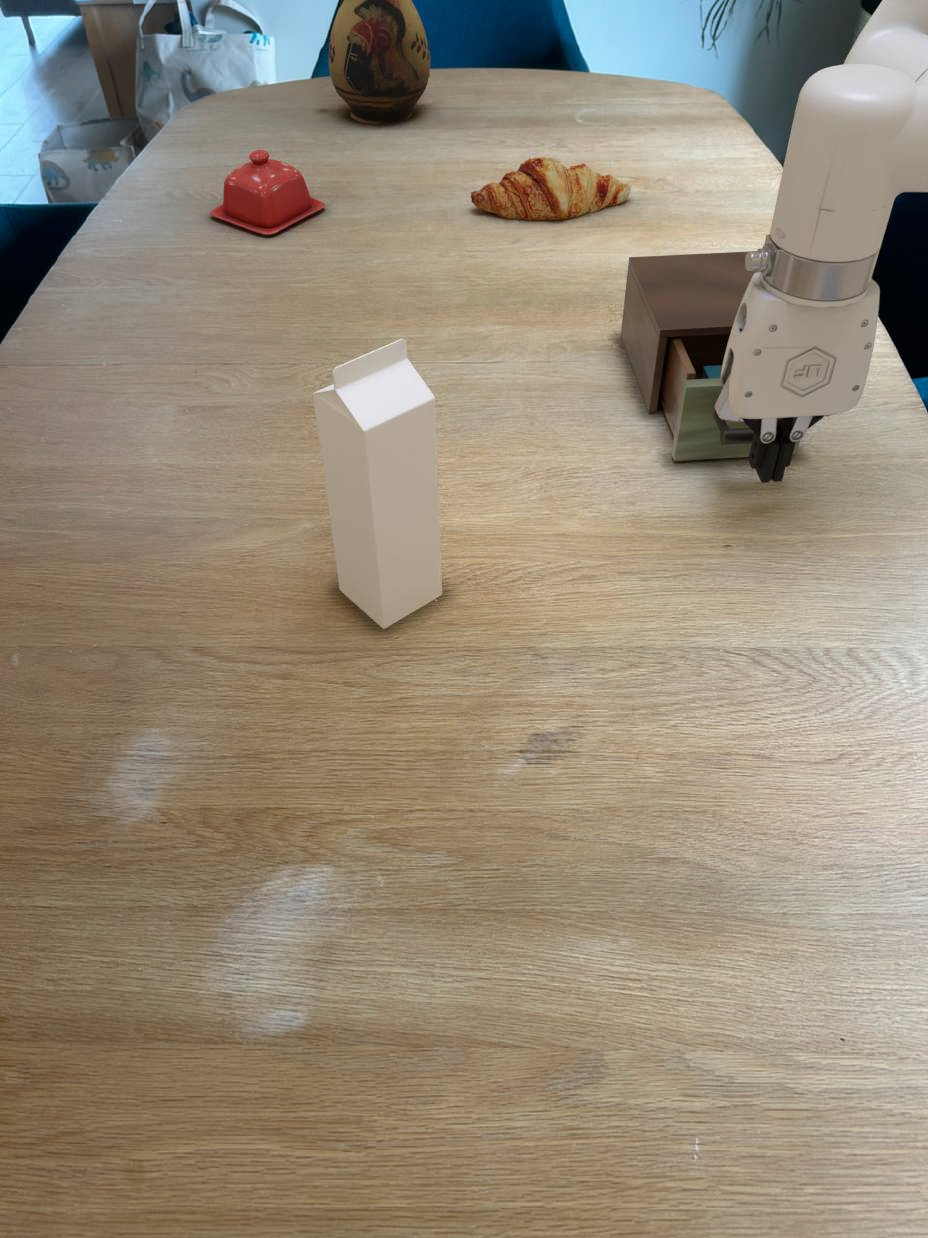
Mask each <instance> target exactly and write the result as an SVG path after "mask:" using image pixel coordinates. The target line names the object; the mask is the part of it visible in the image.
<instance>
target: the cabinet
mask: <svg viewBox="0 0 928 1238" xmlns="http://www.w3.org/2000/svg"><path fill="white" fill-rule="evenodd" d="M748 251H749V250H748ZM748 251H729V252H710V253H708V252H707V253H689V254H686V253H685V254H670V255H669V254H667V255H665V254H664V255H648V256H645V255H644V256H629V257H628V262H627V264H628V265H627V273H626V274H627V275H626V283H625V291H624V292H625V293H624V300H623V310H622V318H621V319H622V320H621V328H620V341H621V343H622V344H621V345H622V347H623V349H624V352H625V355H626V357H627V359H628V362H629V365H630V368H631V371H632V374H633V377H634V379H635V382H636V384H637V388H638V390H639V393H640V396H641V398H642V401H643V403H644V404H643V405H644V406H645V410H646V412H647V414H648V415H662V414H663V415H664V414H665V412H664V410H663V407H662V405H661V402H660V400H659V392H660V385H661V378H662V371H663V365H664V358H665V351H666V344H667V337H680V336H699V335H718V334H730V333H731V330H732V327H733V324H734V321H735V317H736V314H737V312H738V309H739V306H740V304H741V301H742V299H743V296H744V294H745V292H746V289H747V287H748V285H749V283H750V281H751V279H752V277H753V275H754V273H757V271H747V270H746V267H745V258H746V254H747V252H748Z"/></svg>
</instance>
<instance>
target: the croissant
mask: <svg viewBox="0 0 928 1238" xmlns="http://www.w3.org/2000/svg"><path fill="white" fill-rule="evenodd" d="M631 191H632V188H631V186H630V185H629V184H627V183H624V184H623V182H621V181H620V180H619V179H617V178H616V177H614V176H613V175H612V174H611V173H610V174H606V175H602V174H601V173H599V172H598V171H595V170H592V168H591V167H590V166H588V165H587V164H586V163H581V164H577V165H569V167H568V168H567V167H566V166H565V165H564V164H562V163H561V161H560V160H558V159H557V158H554V157H545V156H539V157H533V158H530V157H529V158H528V159H526V160H524V162H521V163H520V164H519V168H518V169H517V170H511V171H510V172H506V173H505V174H504V175H503V177H502V178H501V180H500V182H489V183H487V184H485V185H484V186H483V187H482V188H481V189H479V190H474V191H471V192H470V200H471V203H472V204H473V205H474V207H477V209H481V210H483V211H485V212H488V213H492V214H495V215H497V216H498V217H500V218H503V219H510V220H526V221H531V222H532V221H535V222H536V221H552V220H553V221H557V220H566V219H573V218H577V217H580V216H582V215H585V214H587V213H595V212H598V211H600V210H601V209H605V208H606V207H614V206H617V205H619V204H621V203H623V202H625V201H626V200H627V199H628V197H629V196H630V195H631Z"/></svg>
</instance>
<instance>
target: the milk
mask: <svg viewBox="0 0 928 1238" xmlns="http://www.w3.org/2000/svg"><path fill="white" fill-rule="evenodd" d="M332 381H333V383H332V384H331V385H328V386H326V387H324V388H321V389H319V390H316V391H314V392H313V393H312V400H313V407H314V414H315V422H316V429H317V435H318V445H319V450H320V451H319V452H320V458H321V466H322V471H323V480H324V486H325V494H326V500H327V501H326V502H327V509H328V516H329V523H330V529H331V537H332V545H333V551H334V559H335V567H336V573H337V574H336V575H337V580H338V587H339V591H340V592H341V593H342V594H343V595H345V596H346V598H348V599H349V600H350V601H351V602H352V603H353V604H355V605H356V606H357V607H358V608H359V609H360V610H361V611H363V613H365V614H366V615H367V616H368V617H369V618H370V619H372V621H373V622H375V623H376V624H377V625H378V626H379V627H380V628H382V629H383V630H385V629H387V628H389V627H390V626H391V625H392V626H393V624H395V623H396V622H398V621H400V620H401V619H404V618H405V617H408V615H411V614H412V613H414V612H415V611H418V610H419V609H421V608H422V607H424V606H425V605H427V604H429V603H430V602H432V601H434V600H436V599H437V598H439V597H441V596H442V595H443V577H442V576H443V575H442V573H443V572H442V549H441V548H442V547H441V521H440V501H439V500H440V498H439V497H440V496H439V495H440V494H439V471H438V469H439V468H438V444H437V443H438V442H437V417H436V415H437V414H436V398H435V395H434V394H433V392H432V391H431V390H430V388H429V387H428V385H427V384H426V383H425V381H424V379H423V378H422V377H421V375H420V374H419V372H418V371H417V370H416V368H415V367H414V365H413V364H412V363H411V361H410V360H409V358H408V346H407V341H406V340H405V339H404V338H400V339H397V340H396V341H393V342H390V343H388V344H386V345H384V346H381V347H379V348H377V349H375V350H372V351H370V352H367V353H365V354H363V355H360V356H358V357H356V358H353V359H351V360H349V361H347V362H344V363H341V364H339V365H337V366H335V367H334V368H333V370H332Z"/></svg>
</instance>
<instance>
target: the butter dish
mask: <svg viewBox="0 0 928 1238" xmlns="http://www.w3.org/2000/svg"><path fill="white" fill-rule="evenodd" d="M248 159H249V160H250V161H248V162H246V163H244V164H242V165H240V166H238V167H237V168H235V169H234V170H233V171H231V172H230V173H228V175H227V176H226V177H225V178H224V182H223V202H222V204H220V205H218V206H217V207H214V208H212V210H210V211H209V216H211V217H213V218H215V219H218V220H221V221H224V222H226V223H229V224H232V225H234V226H237V227H239V228H243V229H245V230H248V231H250V232H255V233H257V234H260V235H263V236H272V235H275V234H278V233H279V232H282V231H283V230H285V229H287V228H288V227H290V226H291V225H293V224H295V223H298V222H300V221H302V220H303V219H305V218H307V217H309V216H311V215H314V214H316V213H317V212H319V211H321V210H323V209H324V208H325V207H326V204H325V203H324V202H323V201H321V200H319V199H317V198H314V197H312V196H311V195H310V191H309V189H308V186H307V183H306V181H305V178H304V175H303V173H302V172H301V171H300V170H299V169H297V168H296V167H294V166H292V165H290V164H289V163H286V162H284V161H281V160H277V159H272V158H270V153H269V152H268V151H267V150H265V149H255V150H253V151H251V152H250V154H249V156H248Z"/></svg>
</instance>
